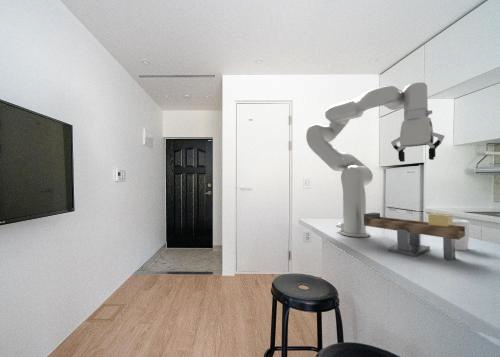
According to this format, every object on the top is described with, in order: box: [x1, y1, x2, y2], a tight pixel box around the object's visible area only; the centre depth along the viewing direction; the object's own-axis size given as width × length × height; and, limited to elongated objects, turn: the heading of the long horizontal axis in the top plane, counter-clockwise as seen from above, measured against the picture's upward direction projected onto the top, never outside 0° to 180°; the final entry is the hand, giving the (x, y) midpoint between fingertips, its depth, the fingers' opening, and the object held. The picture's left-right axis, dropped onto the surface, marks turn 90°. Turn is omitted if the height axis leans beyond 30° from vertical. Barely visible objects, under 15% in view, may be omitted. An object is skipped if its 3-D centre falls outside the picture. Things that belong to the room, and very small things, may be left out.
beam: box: [364, 212, 465, 240], centre depth 82 cm, size 28×8×5 cm, turn 37°
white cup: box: [453, 218, 471, 251], centre depth 86 cm, size 8×8×10 cm
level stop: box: [442, 237, 456, 261], centre depth 74 cm, size 2×4×7 cm, turn 127°
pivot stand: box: [387, 228, 431, 258], centre depth 82 cm, size 8×14×8 cm, turn 127°
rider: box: [427, 212, 454, 229], centre depth 76 cm, size 5×5×5 cm
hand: (416, 160), depth 90 cm, fingers open, 9 cm apart
